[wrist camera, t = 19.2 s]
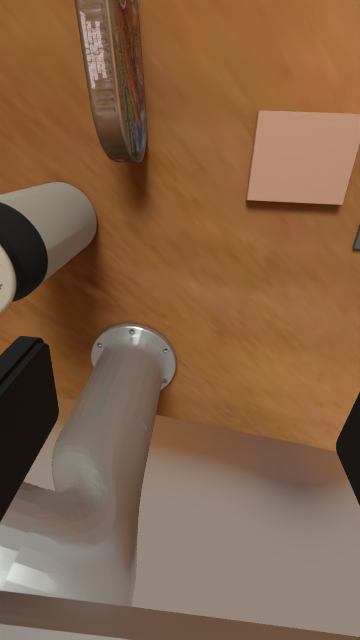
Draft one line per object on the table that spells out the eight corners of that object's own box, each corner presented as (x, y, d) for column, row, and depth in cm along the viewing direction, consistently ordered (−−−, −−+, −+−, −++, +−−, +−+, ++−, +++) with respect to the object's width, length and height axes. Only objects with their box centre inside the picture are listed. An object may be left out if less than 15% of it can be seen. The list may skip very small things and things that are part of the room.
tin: (149, 160, 33) (133, 165, 26) (121, 161, 34) (96, 166, 26) (134, -41, 26) (105, -114, 19) (98, -38, 26) (55, -108, 19)
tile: (342, 204, 33) (367, 114, 29) (247, 200, 33) (259, 110, 29) (336, 202, 34) (360, 115, 30) (245, 197, 35) (256, 112, 31)
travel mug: (111, 224, 37) (40, 283, 21) (67, 262, 40) (-24, 338, 24) (61, 165, 34) (-63, 183, 19) (18, 211, 37) (-120, 259, 22)
